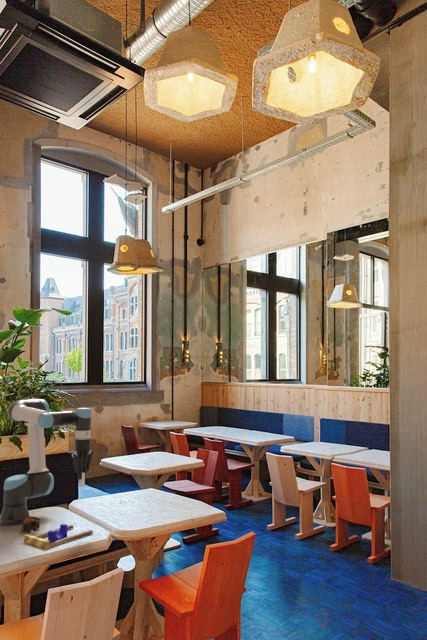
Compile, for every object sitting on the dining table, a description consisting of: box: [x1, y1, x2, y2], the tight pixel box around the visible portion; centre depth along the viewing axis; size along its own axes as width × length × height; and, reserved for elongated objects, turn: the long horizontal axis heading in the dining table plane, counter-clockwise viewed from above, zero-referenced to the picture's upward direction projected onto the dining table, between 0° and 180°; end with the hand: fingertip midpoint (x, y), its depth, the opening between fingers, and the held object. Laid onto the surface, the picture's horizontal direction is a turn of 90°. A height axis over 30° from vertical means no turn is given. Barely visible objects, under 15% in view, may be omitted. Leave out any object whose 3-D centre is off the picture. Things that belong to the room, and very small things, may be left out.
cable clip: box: [47, 523, 68, 542], centre depth 242 cm, size 12×4×6 cm, turn 166°
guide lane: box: [23, 524, 94, 550], centre depth 246 cm, size 17×27×3 cm, turn 144°
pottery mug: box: [20, 515, 41, 534], centre depth 257 cm, size 12×10×8 cm
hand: (81, 485), depth 259 cm, fingers closed
